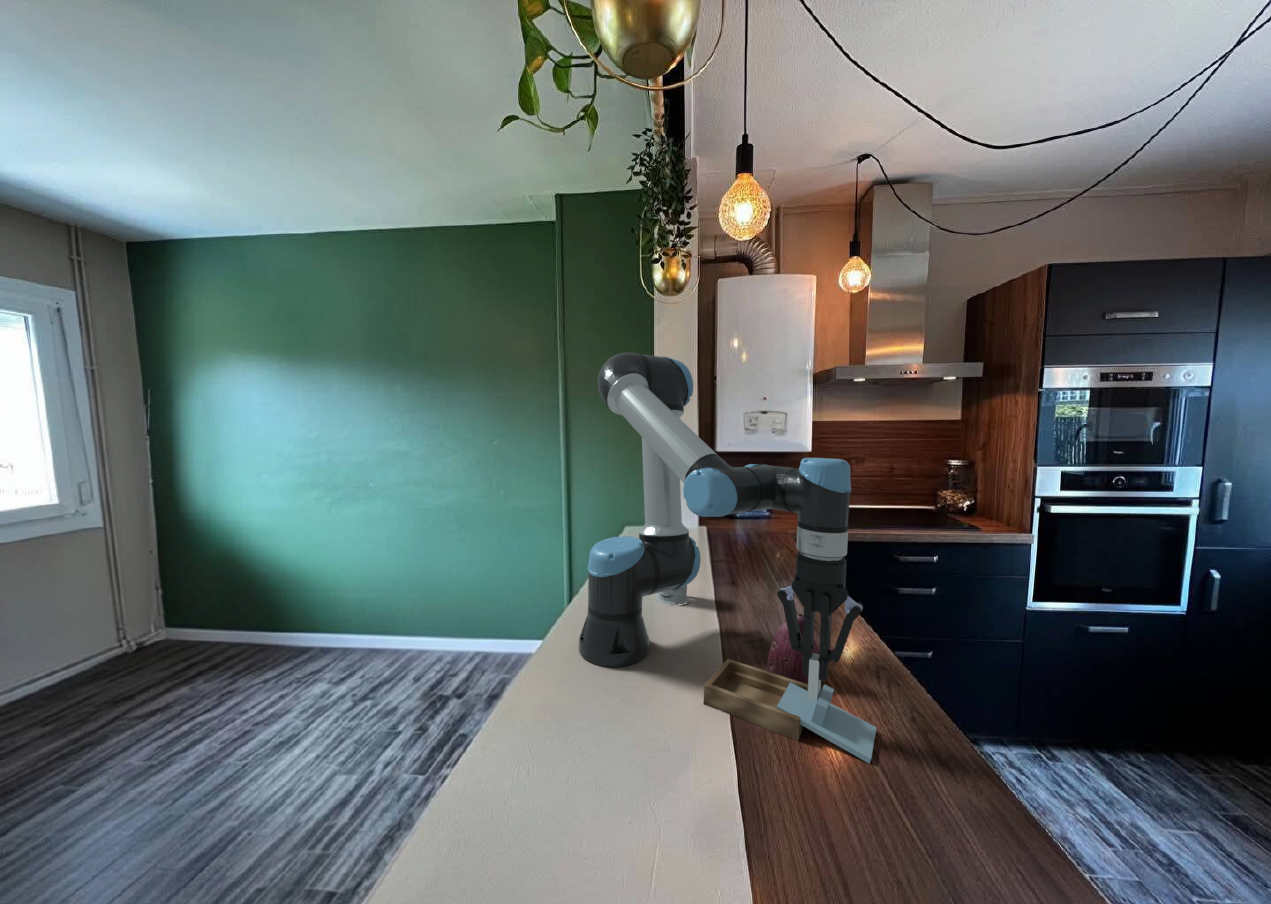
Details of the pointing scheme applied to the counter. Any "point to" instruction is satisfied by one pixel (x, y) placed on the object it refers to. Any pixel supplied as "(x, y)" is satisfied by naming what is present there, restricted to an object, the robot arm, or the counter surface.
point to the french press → (673, 596)
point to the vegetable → (787, 654)
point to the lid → (830, 720)
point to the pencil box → (753, 697)
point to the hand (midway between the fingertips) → (814, 696)
